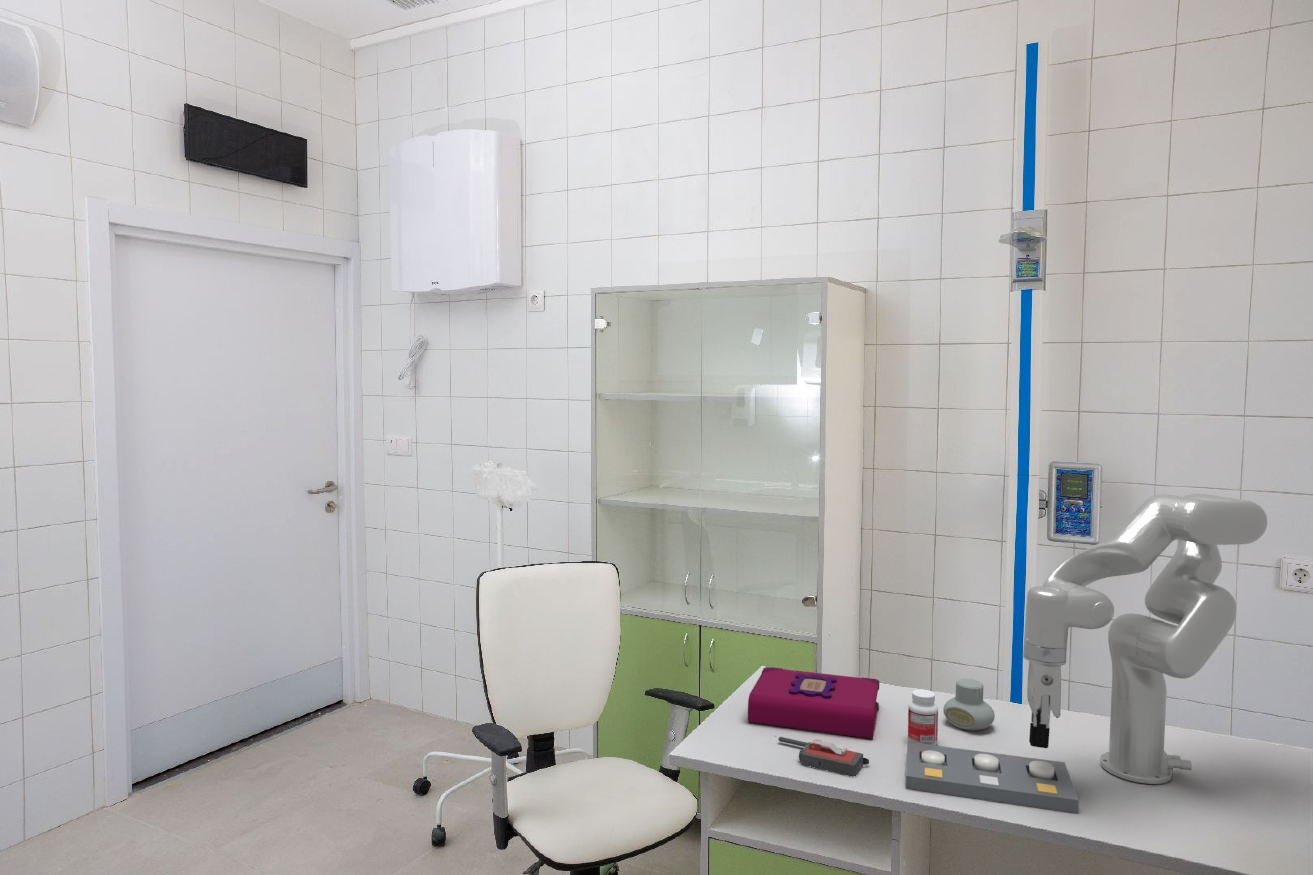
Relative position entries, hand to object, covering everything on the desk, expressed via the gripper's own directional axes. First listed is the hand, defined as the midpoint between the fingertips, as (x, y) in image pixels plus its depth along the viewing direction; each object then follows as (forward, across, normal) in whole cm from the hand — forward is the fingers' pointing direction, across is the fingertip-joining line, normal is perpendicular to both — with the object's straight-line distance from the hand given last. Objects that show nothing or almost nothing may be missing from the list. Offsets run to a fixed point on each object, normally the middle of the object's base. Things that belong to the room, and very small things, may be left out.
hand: (1038, 745), depth 161 cm
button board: (+8, -1, +9) cm, 12 cm away
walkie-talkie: (+10, -1, +41) cm, 43 cm away
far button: (+7, +1, +19) cm, 20 cm away
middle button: (+6, +1, +9) cm, 11 cm away
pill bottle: (+9, +14, +21) cm, 27 cm away
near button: (+6, +1, -1) cm, 6 cm away
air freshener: (+8, +27, +11) cm, 30 cm away
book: (+10, +22, +45) cm, 51 cm away
